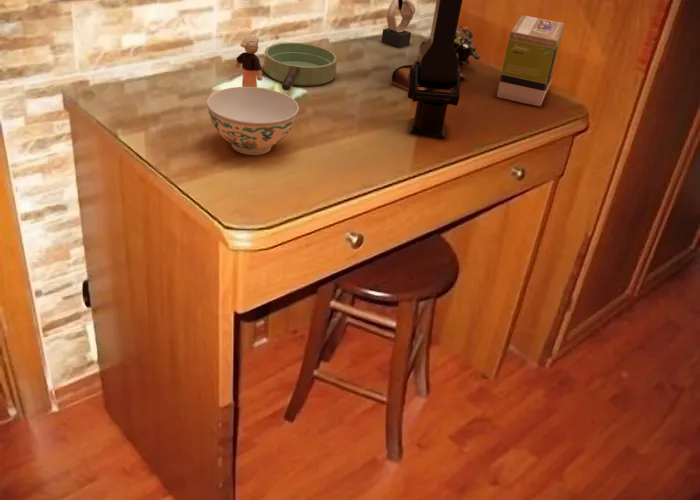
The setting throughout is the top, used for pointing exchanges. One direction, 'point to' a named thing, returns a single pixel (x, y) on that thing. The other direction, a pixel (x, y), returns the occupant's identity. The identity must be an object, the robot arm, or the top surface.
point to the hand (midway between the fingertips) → (421, 11)
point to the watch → (398, 34)
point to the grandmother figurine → (250, 62)
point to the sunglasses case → (407, 77)
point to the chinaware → (252, 117)
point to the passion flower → (464, 45)
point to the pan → (300, 63)
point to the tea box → (530, 60)
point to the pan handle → (290, 78)
